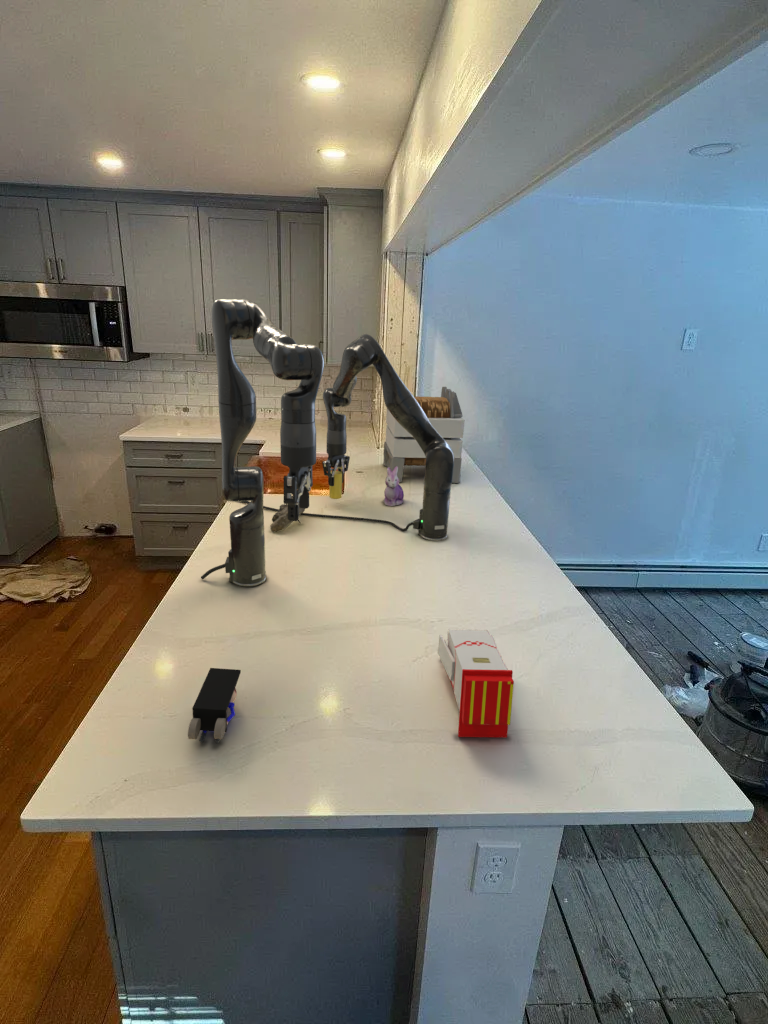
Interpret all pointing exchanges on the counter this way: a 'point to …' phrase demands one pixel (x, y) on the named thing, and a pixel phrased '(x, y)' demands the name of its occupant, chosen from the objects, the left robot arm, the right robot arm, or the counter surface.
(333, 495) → the canister
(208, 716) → the figurine character
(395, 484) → the figurine
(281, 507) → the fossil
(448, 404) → the grey slatted crate
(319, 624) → the counter surface
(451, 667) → the toy
